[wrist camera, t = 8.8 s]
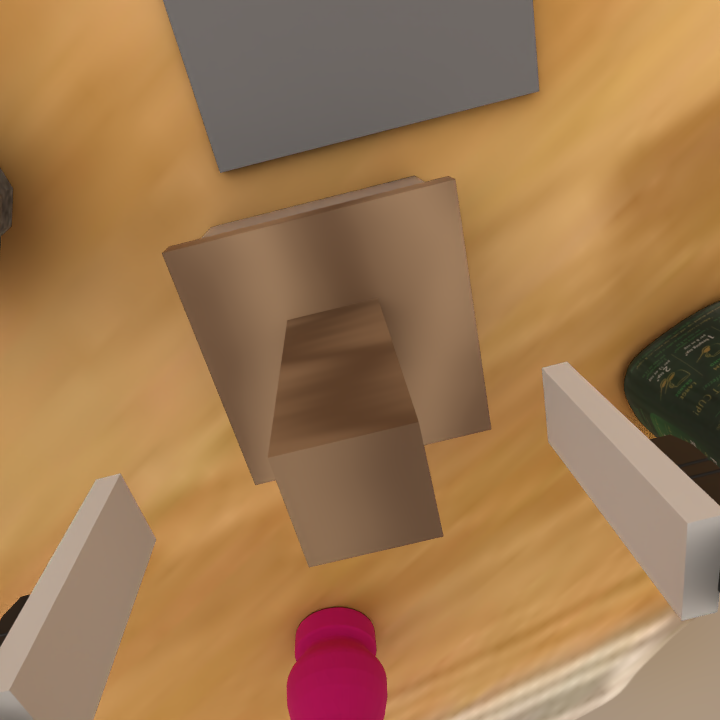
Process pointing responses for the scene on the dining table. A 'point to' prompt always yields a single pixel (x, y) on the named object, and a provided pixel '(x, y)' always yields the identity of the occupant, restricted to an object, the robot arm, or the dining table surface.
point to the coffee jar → (681, 383)
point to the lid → (343, 358)
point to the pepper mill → (336, 669)
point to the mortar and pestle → (5, 204)
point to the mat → (345, 67)
